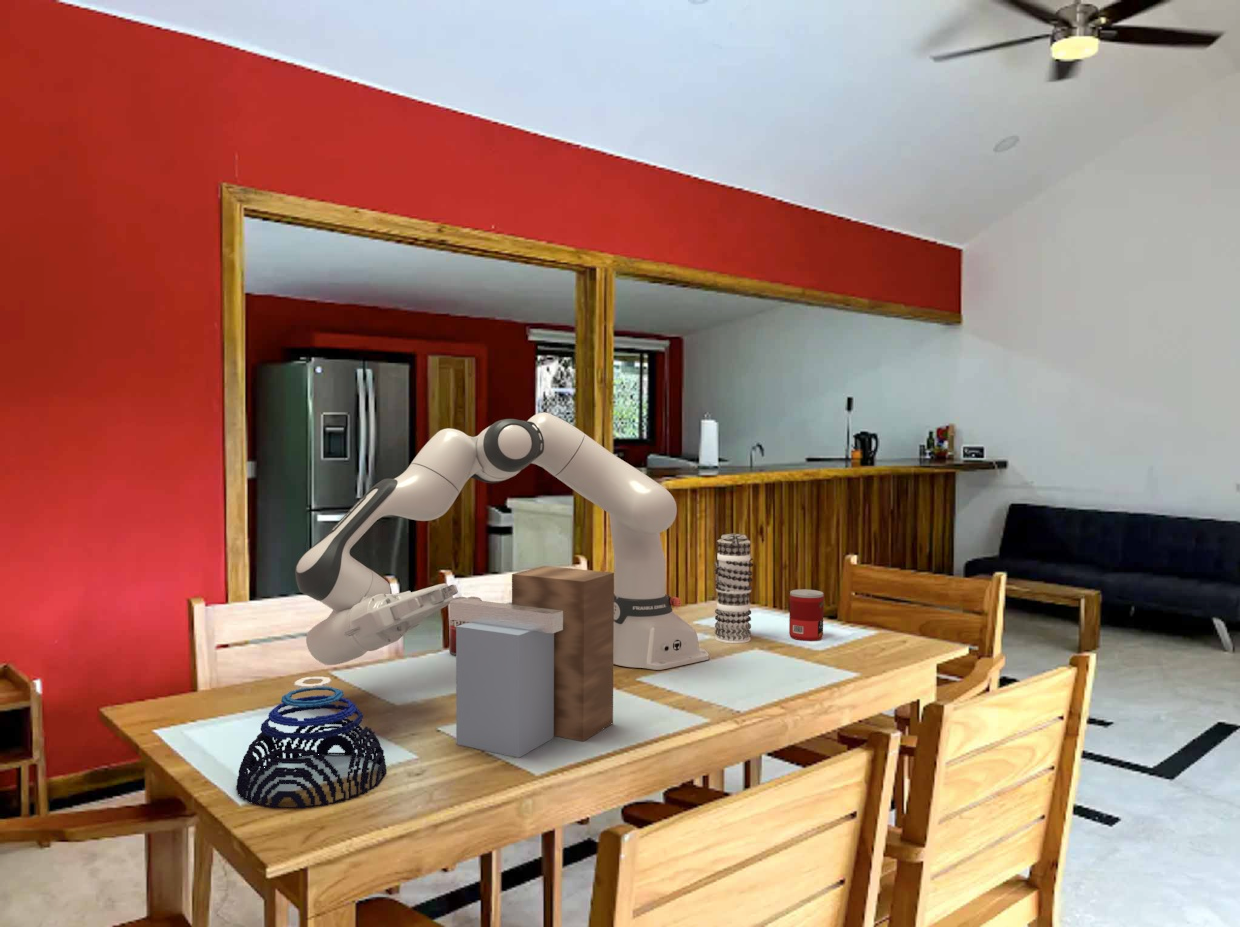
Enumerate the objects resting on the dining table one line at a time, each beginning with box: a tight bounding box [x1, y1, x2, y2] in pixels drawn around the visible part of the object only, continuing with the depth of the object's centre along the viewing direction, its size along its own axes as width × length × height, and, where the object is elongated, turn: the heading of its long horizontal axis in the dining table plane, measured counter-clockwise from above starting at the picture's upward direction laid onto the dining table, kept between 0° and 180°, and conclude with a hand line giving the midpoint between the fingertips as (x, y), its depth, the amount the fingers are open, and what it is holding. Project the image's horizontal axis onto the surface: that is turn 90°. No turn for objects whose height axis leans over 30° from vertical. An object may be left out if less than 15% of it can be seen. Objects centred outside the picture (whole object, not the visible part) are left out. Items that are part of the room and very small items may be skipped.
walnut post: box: [511, 565, 615, 742], centre depth 154 cm, size 14×10×26 cm
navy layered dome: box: [235, 676, 387, 810], centre depth 130 cm, size 20×20×14 cm
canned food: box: [788, 588, 825, 642], centre depth 218 cm, size 8×8×11 cm
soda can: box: [448, 595, 483, 656], centre depth 202 cm, size 7×7×12 cm
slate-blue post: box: [455, 622, 555, 759], centre depth 146 cm, size 12×10×19 cm
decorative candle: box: [714, 533, 754, 645], centre depth 216 cm, size 9×9×25 cm
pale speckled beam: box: [448, 598, 563, 634], centre depth 145 cm, size 20×3×3 cm, turn 62°
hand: (437, 595), depth 153 cm, fingers open, 8 cm apart
